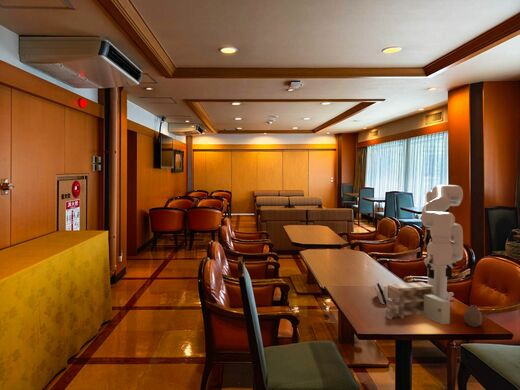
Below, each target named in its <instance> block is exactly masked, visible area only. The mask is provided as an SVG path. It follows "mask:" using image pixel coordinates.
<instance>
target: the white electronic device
mask: <svg viewBox="0 0 520 390" xmlns="http://www.w3.org/2000/svg"><path fill="white" fill-rule="evenodd" d="M373 287H374V290H375V293H376V296H377V298H378V299H379V302H380V304H381V303H382V304H384V305H386V299H387V297H388V294H387V293H386V290H385V288H384V286H383V284H382V282H377V283H374V284H373ZM382 304H381V305H382Z"/></svg>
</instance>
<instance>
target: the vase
mask: <svg viewBox="0 0 520 390" xmlns="http://www.w3.org/2000/svg"><path fill="white" fill-rule="evenodd" d="M463 316H464V321H465V323H466V325H468V326H470V327H474V328H477V327H480V326H481V324H482V321H483V315H482V312H481V311H480V310H479V308H478V306H477V305H475V304H470V306H469V307H468V308H466V310H465V311H464V315H463Z"/></svg>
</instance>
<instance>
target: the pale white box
mask: <svg viewBox="0 0 520 390" xmlns="http://www.w3.org/2000/svg"><path fill="white" fill-rule="evenodd" d="M422 315H423V316H424V317H426V318H428V319H430V320H431V321H434V322H436V323H438V324H440V325H449V324H450V317H451V301H450V300H449V301H447V300H445V299H442V298H440V297H437V296H434V295H432V294H427V295H424V313H423V314H422Z"/></svg>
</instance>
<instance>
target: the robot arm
mask: <svg viewBox="0 0 520 390" xmlns="http://www.w3.org/2000/svg"><path fill="white" fill-rule="evenodd" d="M463 198H464V190H463V188H462V187H461V186H460V185H456V184H438V185H435V186H434V187H433V188H432V190H428V191H427V192H426V196H425V200H426V204H424V205H423V207H422V210H421V224H422V225H423V226H424V227H427V228H430V236H431V241H430V242H428V243H427V246H426V255H427V257H425V258H424V259H423V263H424V265H425V267H426V269H427V283H426V284H429V285H431V286H434V289H433V295H434V296H437V297H440V298H442V299H445V300H447V301H450V298H449V297H453V296H454V292H451V291H450V292H448V291H447V288H448V287H447V286H448V278H449V279H452V278H453V269H454V268H455V266H456V264H457V262H459V261H461V260H463V257H464V233H463V232H464V231H463V226H462V225H461V224H460V223H456V217H455V216H454V214H453V213H452V212H449V211H447V210H448V209H450V207H458V206H460V205H461V203H462V201H463Z"/></svg>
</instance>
